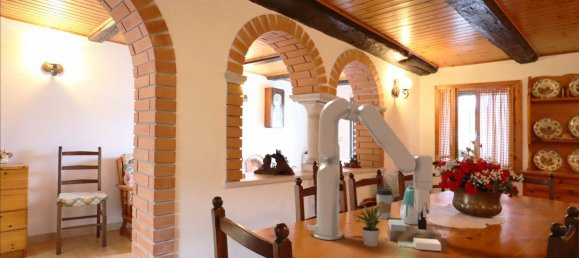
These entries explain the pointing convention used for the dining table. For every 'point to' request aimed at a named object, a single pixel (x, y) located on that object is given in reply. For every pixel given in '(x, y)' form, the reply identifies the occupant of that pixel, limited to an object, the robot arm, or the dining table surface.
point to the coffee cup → (384, 202)
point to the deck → (413, 234)
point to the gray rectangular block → (397, 225)
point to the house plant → (370, 226)
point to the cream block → (427, 244)
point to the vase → (409, 208)
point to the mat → (406, 244)
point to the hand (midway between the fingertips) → (422, 229)
